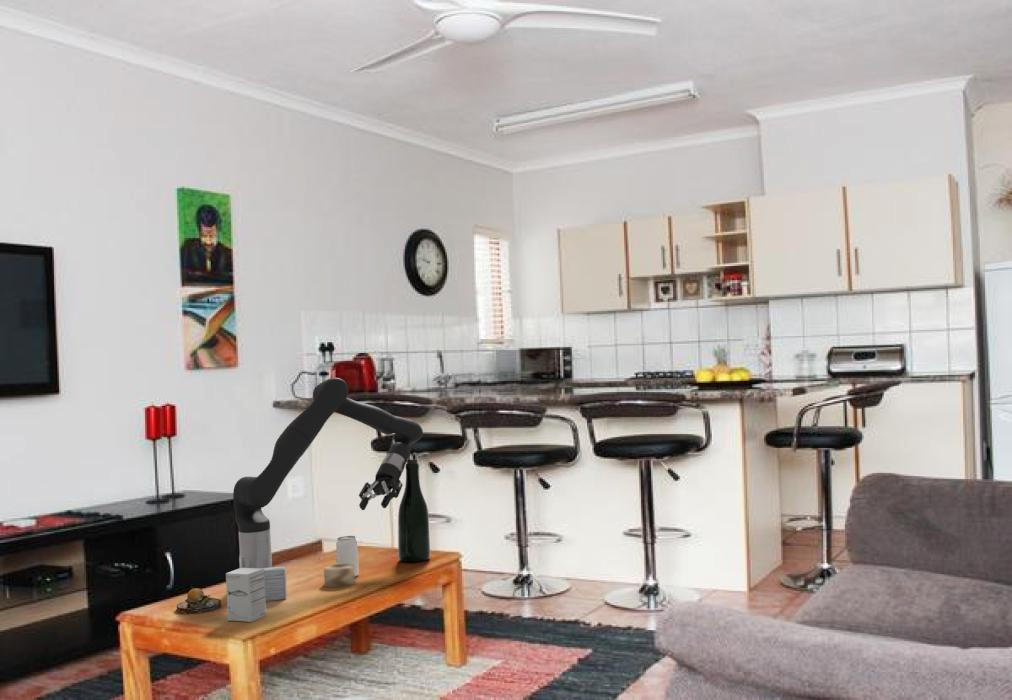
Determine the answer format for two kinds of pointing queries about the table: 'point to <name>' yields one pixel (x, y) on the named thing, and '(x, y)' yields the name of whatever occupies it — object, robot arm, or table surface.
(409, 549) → the dark green wine bottle
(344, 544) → the can
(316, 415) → the robot arm
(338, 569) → the grey rounded block
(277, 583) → the medicine box
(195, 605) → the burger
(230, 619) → the supplement box
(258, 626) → the table surface
